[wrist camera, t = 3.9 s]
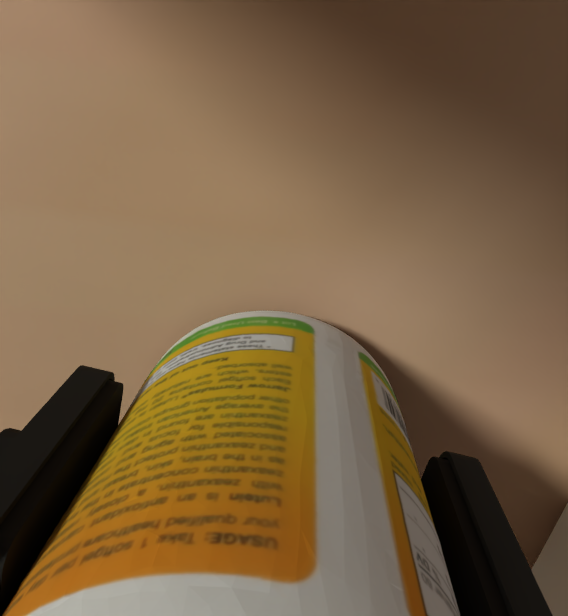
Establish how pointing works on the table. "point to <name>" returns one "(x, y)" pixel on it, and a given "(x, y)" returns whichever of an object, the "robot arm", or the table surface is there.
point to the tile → (554, 568)
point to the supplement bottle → (250, 489)
